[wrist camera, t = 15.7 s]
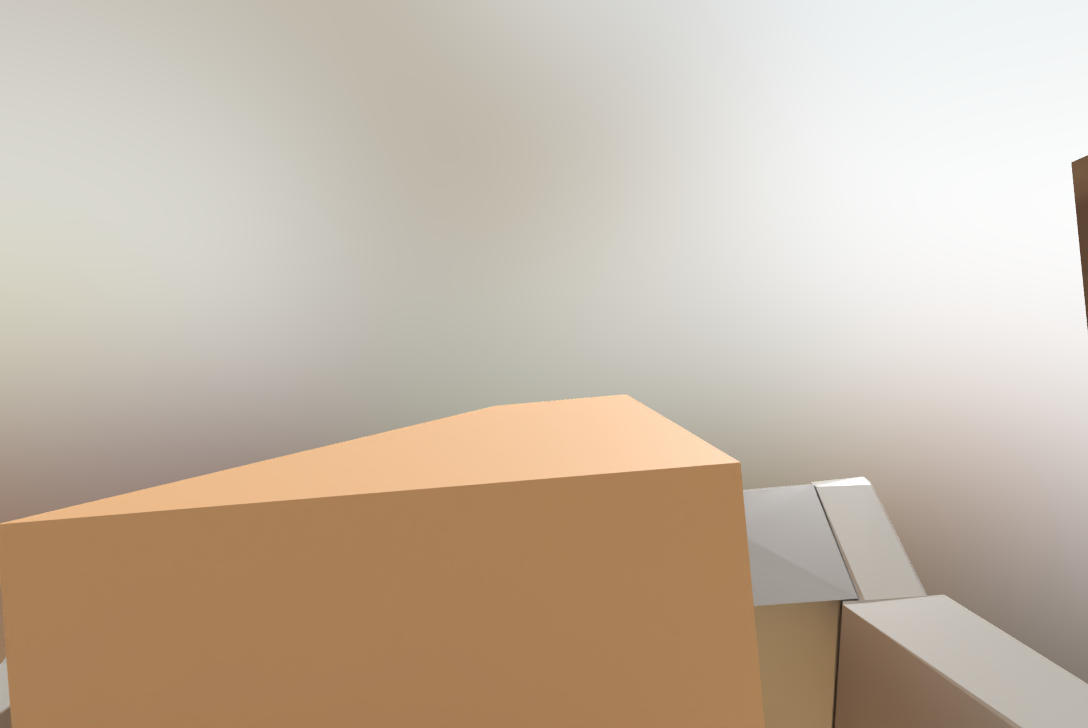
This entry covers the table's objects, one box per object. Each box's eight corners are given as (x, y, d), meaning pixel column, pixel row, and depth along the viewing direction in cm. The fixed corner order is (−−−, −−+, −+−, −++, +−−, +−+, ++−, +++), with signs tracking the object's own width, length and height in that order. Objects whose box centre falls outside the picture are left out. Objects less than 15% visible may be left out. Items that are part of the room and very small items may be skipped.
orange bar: (55, 1276, 5) (-6, 525, 5) (506, 537, 29) (495, 405, 29) (814, 1250, 5) (739, 462, 5) (638, 526, 29) (626, 394, 29)
